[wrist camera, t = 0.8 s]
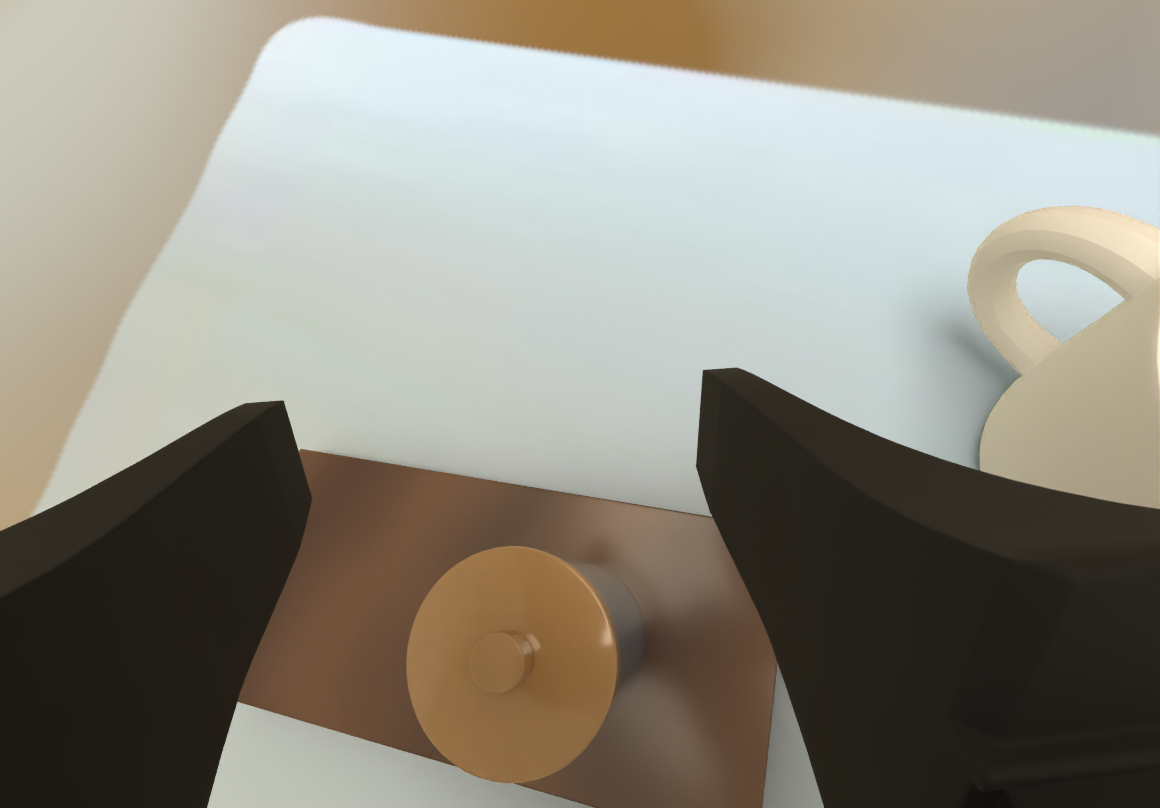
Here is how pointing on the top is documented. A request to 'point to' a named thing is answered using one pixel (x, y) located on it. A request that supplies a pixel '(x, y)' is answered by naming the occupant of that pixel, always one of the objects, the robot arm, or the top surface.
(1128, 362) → the mug
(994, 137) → the top surface
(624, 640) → the sugar pot
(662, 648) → the cutting board
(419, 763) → the top surface
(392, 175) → the top surface
